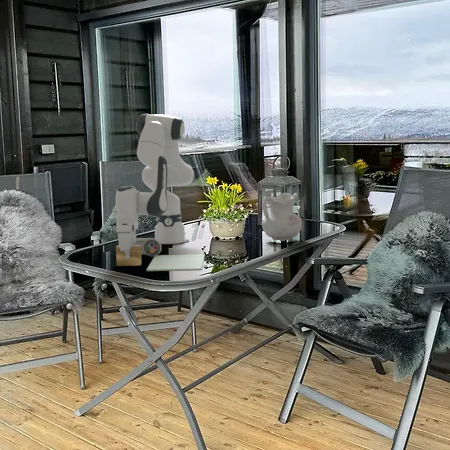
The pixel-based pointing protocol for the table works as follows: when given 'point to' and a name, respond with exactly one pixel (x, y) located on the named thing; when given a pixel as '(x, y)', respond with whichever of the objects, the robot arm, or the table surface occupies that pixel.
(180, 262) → the mat
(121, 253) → the wood tile
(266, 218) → the ceramic pitcher
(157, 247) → the game controller
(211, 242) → the table surface
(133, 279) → the table surface
